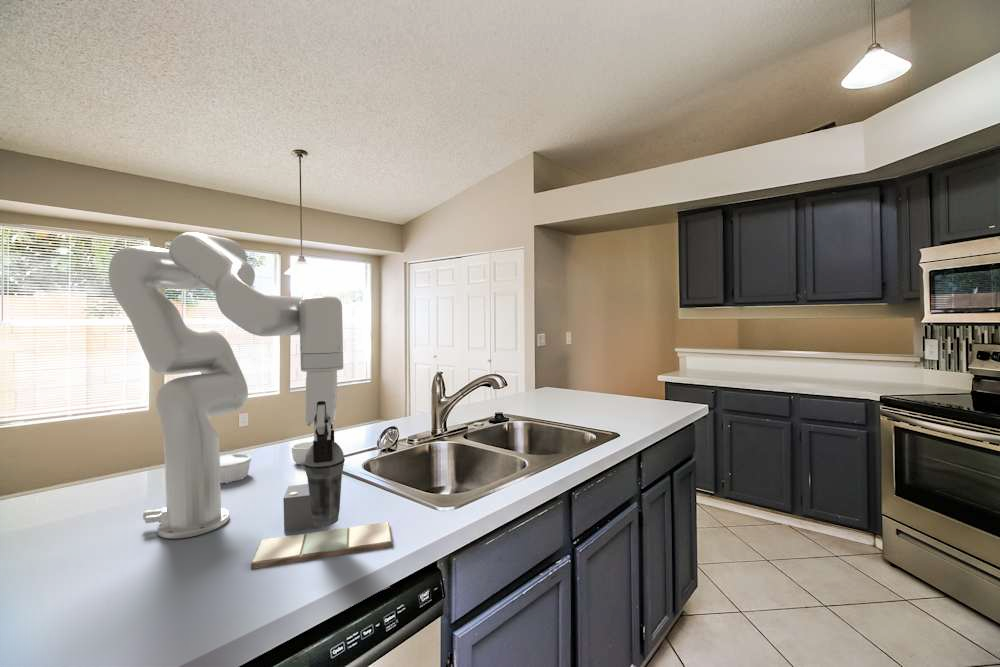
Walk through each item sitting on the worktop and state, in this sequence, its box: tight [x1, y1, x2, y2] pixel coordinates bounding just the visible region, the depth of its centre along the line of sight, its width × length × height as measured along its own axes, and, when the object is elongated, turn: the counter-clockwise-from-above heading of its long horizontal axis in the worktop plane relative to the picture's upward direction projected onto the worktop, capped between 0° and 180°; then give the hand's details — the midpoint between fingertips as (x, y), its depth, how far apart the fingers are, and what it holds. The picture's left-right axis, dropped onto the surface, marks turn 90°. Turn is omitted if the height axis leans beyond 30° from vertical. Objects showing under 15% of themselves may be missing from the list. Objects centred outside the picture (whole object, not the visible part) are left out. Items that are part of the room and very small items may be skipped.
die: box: [283, 483, 319, 533], centre depth 96 cm, size 7×7×7 cm
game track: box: [250, 521, 393, 570], centre depth 86 cm, size 24×9×1 cm, turn 108°
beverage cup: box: [303, 441, 346, 528], centre depth 86 cm, size 7×7×20 cm
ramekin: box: [220, 453, 252, 484], centre depth 123 cm, size 11×11×5 cm
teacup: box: [291, 441, 313, 466], centre depth 137 cm, size 10×8×5 cm
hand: (324, 455), depth 86 cm, fingers closed on beverage cup, 6 cm apart
